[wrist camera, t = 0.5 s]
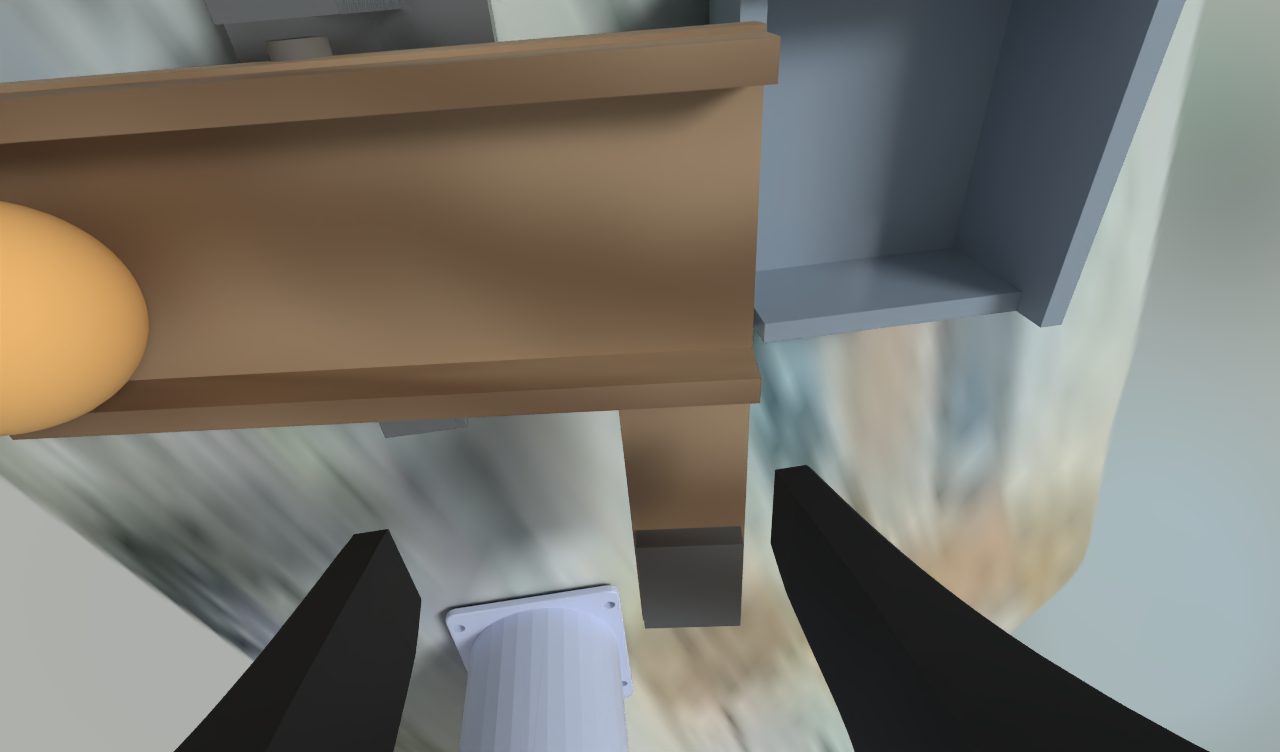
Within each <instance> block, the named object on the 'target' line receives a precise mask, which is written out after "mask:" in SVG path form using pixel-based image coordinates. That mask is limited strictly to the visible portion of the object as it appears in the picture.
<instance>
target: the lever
mask: <svg viewBox="0 0 1280 752" xmlns="http://www.w3.org/2000/svg"><path fill="white" fill-rule="evenodd" d="M780 40H781V37H780V36H778V35H775V34H772V33H770V32H767V31H766V24H765V23H762V22H759V21H748V22H736V23H724V24H712V25H700V26H687V27H675V28H663V29H651V30H639V31H627V32H614V33H602V34H590V35H578V36H566V37H554V38H541V39H529V40H517V41H505V42H493V43H481V44H469V45H456V46H444V47H432V48H420V49H408V50H396V51H383V52H371V53H359V54H347V55H335V56H333V53H332V50H331V47H330V44H329V41H328V38H327V36H312V37H300V38H290V39H281V40H272V41H265V45H266V48H267V50H268V53H269V56H270V58H271V61H262V62H250V63H238V64H225V65H213V66H201V67H189V68H177V69H165V70H152V71H140V72H128V73H116V74H104V75H92V76H79V77H67V78H55V79H43V80H31V81H19V82H7V83H0V201H3V202H9V203H13V204H18V205H22V206H25V207H29V208H32V209H35V210H38V211H41V212H45V213H48V214H50V215H53V216H55V217H58V218H60V219H62V220H64V221H66V222H68V223H70V224H72V225H74V226H76V227H78V228H80V229H81V230H83V231H85V232H86V233H88V234H90V235H91V236H93V237H94V238H96V239H97V240H98V241H100V242H101V243H102V244H104V245H105V246H106V247H107V248H108V249H110V250H111V251H112V252H113V253H114V254H115V255H116V256H117V257H118V258H119V259H120V260H121V261H122V262H123V263H124V265H125V266H126V267H127V268H128V269H129V271H130V272H131V274H132V275H133V277H134V278H135V280H136V282H137V284H138V286H139V287H140V290H141V292H142V294H143V297H144V299H145V302H146V306H147V310H148V319H149V334H148V341H147V346H146V349H145V352H144V355H143V357H142V359H141V362H140V364H139V366H138V367H137V369H136V370H135V372H134V373H133V375H132V376H131V378H130V379H129V380H128V382H127V383H126V384H125V385H124V386H123V387H122V388H121V389H120V390H119V391H118V392H116V393H115V394H114V395H113V396H112V397H111V398H109V399H108V400H106V401H105V402H104V403H102V404H101V405H99V406H98V407H96V408H95V409H93V410H92V411H90V412H88V413H86V414H84V415H82V416H79V417H77V418H75V419H73V420H71V421H68V422H65V423H62V424H60V425H57V426H54V427H50V428H46V429H43V430H38V431H34V432H29V433H24V434H16V435H9V436H10V437H11V438H12V439H13V440H18V439H39V438H59V437H79V436H100V435H120V434H140V433H161V432H181V431H202V430H222V429H242V428H263V427H283V426H303V425H324V424H344V423H365V422H385V421H405V420H426V419H446V418H466V417H487V416H507V415H527V414H548V413H568V412H589V411H609V410H619V416H620V425H621V433H622V442H623V451H624V459H625V468H626V477H627V485H628V494H629V503H630V511H631V520H632V529H633V537H634V546H635V555H636V563H637V572H638V581H639V589H640V598H641V607H642V615H643V620H644V623H645V628H676V627H710V626H740V618H741V596H742V573H743V550H744V525H745V502H746V480H747V457H748V434H749V411H750V404H752V403H760V396H761V375H760V372H759V368H758V365H757V361H756V358H755V354H754V351H753V347H752V343H753V320H754V298H755V275H756V252H757V229H758V206H759V184H760V161H761V138H762V115H763V93H764V85H774V84H778V76H779V58H780Z"/></svg>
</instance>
